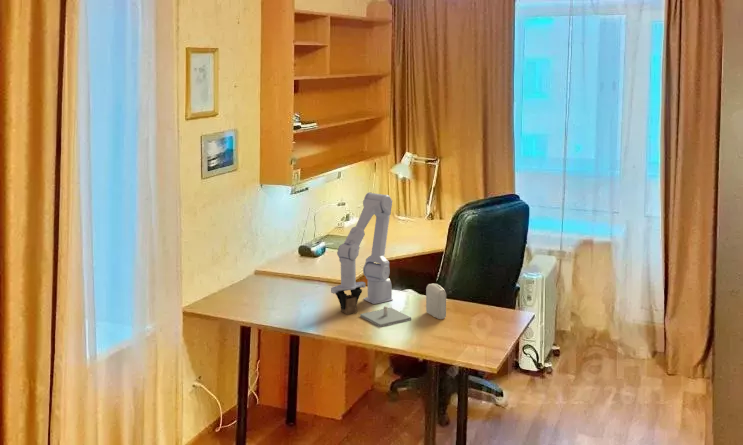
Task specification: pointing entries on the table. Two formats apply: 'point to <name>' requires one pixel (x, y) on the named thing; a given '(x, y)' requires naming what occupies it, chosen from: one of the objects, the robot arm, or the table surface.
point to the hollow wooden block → (350, 305)
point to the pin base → (385, 317)
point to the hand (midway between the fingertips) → (348, 307)
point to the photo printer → (436, 301)
